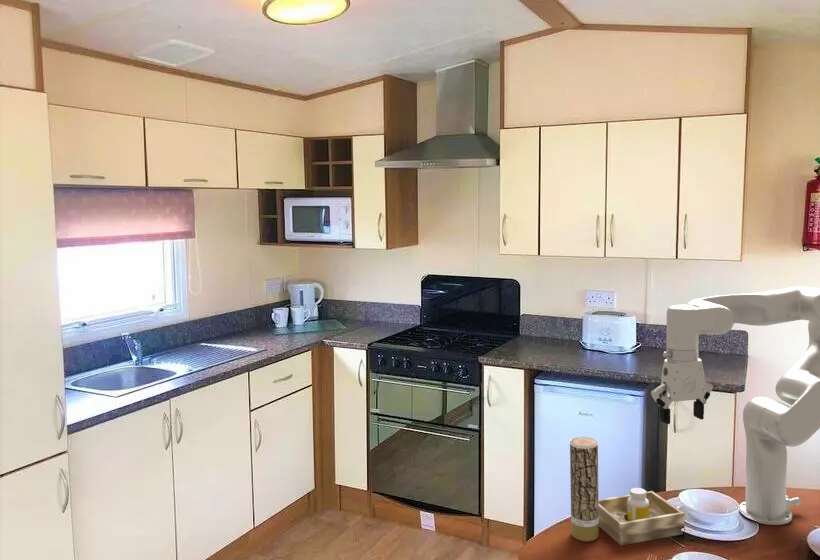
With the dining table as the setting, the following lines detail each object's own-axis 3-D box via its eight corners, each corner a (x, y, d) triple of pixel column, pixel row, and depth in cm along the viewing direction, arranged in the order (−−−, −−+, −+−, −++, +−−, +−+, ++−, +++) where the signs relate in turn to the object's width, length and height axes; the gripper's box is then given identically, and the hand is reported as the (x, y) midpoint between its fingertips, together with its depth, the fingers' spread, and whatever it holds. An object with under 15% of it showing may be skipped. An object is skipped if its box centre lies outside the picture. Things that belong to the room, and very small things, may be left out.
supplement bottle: (653, 526, 179) (653, 490, 178) (643, 533, 175) (643, 497, 174) (633, 519, 183) (633, 484, 182) (623, 527, 179) (623, 491, 178)
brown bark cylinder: (599, 543, 171) (598, 447, 168) (571, 542, 173) (570, 446, 170) (597, 530, 178) (597, 437, 175) (570, 529, 179) (569, 436, 176)
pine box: (652, 510, 188) (652, 490, 187) (684, 533, 174) (684, 513, 174) (592, 520, 183) (592, 500, 183) (620, 545, 170) (620, 524, 169)
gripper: (661, 361, 167) (660, 429, 170) (722, 354, 172) (721, 420, 174) (643, 354, 175) (643, 419, 177) (702, 348, 179) (701, 412, 181)
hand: (682, 420), depth 175 cm, fingers open, 9 cm apart
